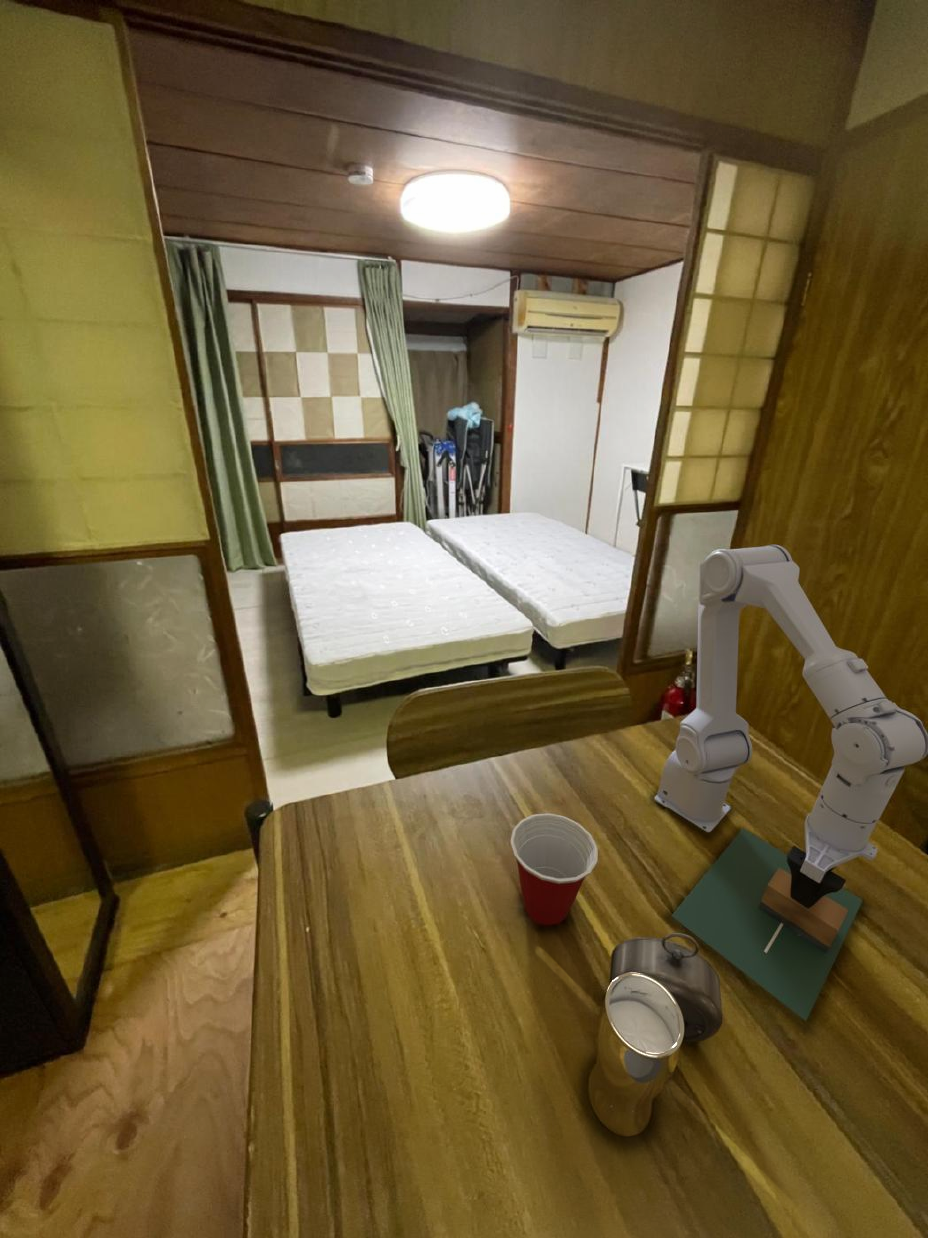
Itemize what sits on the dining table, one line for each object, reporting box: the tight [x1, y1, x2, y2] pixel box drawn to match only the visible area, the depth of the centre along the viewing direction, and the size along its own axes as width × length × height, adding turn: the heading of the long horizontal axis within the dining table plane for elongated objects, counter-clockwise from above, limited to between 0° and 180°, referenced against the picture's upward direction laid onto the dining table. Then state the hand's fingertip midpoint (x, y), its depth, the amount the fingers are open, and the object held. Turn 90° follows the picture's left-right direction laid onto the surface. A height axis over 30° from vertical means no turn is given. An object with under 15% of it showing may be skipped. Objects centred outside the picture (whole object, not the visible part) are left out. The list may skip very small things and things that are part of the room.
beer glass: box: [587, 972, 684, 1137], centre depth 48 cm, size 7×7×15 cm
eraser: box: [759, 868, 848, 953], centre depth 66 cm, size 8×4×4 cm, turn 41°
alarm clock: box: [608, 932, 724, 1043], centre depth 53 cm, size 11×5×16 cm, turn 71°
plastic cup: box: [510, 812, 599, 927], centre depth 66 cm, size 11×11×12 cm
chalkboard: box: [671, 827, 864, 1022], centre depth 69 cm, size 16×22×1 cm
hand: (811, 882), depth 65 cm, fingers open, 7 cm apart
